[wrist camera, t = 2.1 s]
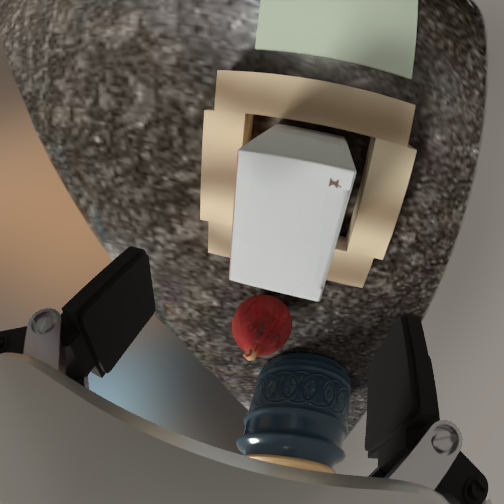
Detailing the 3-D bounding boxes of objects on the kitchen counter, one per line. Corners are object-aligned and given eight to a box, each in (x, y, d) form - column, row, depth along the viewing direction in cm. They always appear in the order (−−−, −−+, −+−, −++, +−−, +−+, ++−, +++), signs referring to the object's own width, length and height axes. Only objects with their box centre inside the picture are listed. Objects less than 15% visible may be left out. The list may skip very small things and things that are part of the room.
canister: (241, 366, 38) (198, 477, 24) (317, 336, 32) (289, 483, 17) (296, 407, 41) (272, 504, 27) (368, 386, 34) (358, 504, 20)
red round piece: (254, 269, 29) (229, 325, 22) (306, 293, 29) (294, 353, 22) (237, 306, 32) (213, 360, 26) (283, 327, 32) (268, 383, 25)
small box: (276, 122, 21) (235, 143, 12) (346, 136, 20) (359, 167, 11) (264, 211, 25) (225, 282, 17) (326, 225, 24) (319, 305, 16)
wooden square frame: (219, 71, 20) (207, 70, 18) (416, 107, 17) (425, 108, 15) (210, 237, 28) (200, 250, 26) (368, 273, 26) (370, 289, 24)
